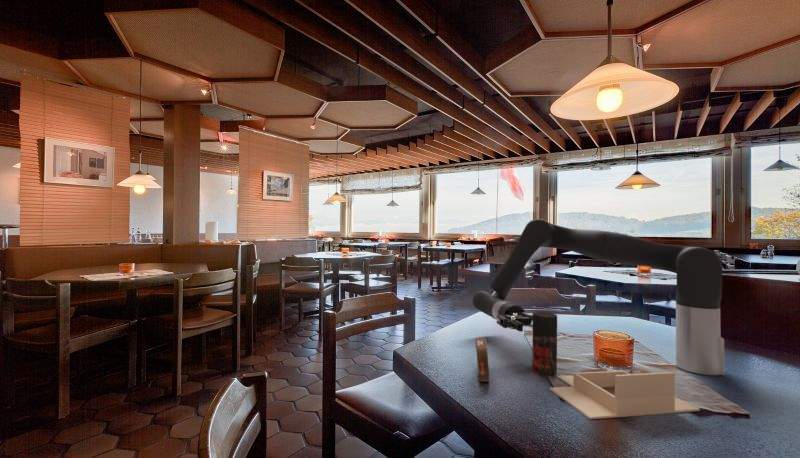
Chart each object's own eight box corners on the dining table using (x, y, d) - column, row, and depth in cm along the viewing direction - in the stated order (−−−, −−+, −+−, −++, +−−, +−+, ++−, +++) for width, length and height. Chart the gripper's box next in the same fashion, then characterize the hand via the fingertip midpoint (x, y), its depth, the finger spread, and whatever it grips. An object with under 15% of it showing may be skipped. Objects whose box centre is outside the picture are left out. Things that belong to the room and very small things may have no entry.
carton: (535, 378, 86) (536, 346, 87) (625, 374, 90) (625, 343, 91) (589, 419, 67) (589, 377, 68) (699, 410, 71) (699, 371, 72)
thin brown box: (489, 388, 81) (490, 351, 81) (476, 386, 81) (476, 350, 82) (486, 365, 96) (487, 334, 96) (475, 364, 96) (475, 333, 96)
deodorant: (528, 368, 93) (528, 312, 94) (549, 367, 94) (549, 312, 94) (538, 377, 88) (539, 317, 88) (561, 376, 88) (561, 317, 88)
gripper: (487, 302, 110) (512, 314, 94) (529, 301, 112) (560, 313, 96) (486, 326, 109) (511, 342, 94) (528, 325, 112) (559, 340, 96)
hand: (536, 327), depth 95 cm, fingers open, 8 cm apart
